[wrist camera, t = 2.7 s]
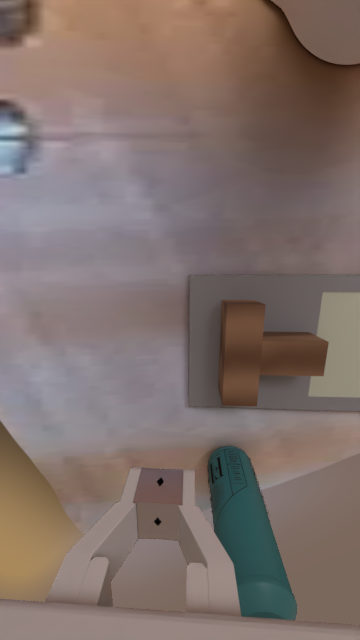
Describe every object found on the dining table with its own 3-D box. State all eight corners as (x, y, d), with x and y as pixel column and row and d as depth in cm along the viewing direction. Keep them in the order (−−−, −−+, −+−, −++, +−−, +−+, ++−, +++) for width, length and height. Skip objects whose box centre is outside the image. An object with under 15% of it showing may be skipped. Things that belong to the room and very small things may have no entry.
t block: (221, 299, 27) (227, 304, 23) (313, 300, 26) (334, 305, 22) (218, 387, 29) (222, 405, 25) (301, 389, 29) (318, 408, 25)
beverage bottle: (214, 431, 32) (250, 675, 13) (256, 444, 32) (355, 706, 13) (199, 465, 34) (212, 731, 14) (240, 478, 34) (307, 758, 14)
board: (189, 275, 27) (189, 275, 26) (430, 274, 26) (441, 274, 25) (188, 401, 31) (188, 406, 30) (398, 407, 30) (406, 412, 29)
